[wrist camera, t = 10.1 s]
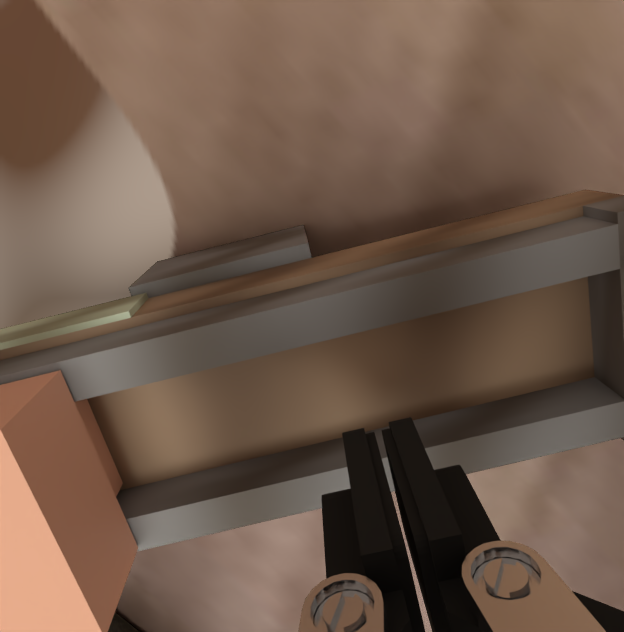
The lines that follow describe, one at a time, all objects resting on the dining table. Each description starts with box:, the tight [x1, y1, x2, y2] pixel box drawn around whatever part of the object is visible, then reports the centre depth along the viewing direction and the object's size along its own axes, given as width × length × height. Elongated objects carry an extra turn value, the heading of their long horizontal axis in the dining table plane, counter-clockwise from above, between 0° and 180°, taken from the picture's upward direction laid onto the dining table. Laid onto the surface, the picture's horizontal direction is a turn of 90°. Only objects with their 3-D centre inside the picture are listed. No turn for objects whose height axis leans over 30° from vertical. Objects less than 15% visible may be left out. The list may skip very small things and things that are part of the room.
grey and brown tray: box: [0, 190, 624, 551], centre depth 18 cm, size 24×8×8 cm, turn 103°
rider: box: [0, 370, 138, 632], centre depth 14 cm, size 5×6×5 cm
